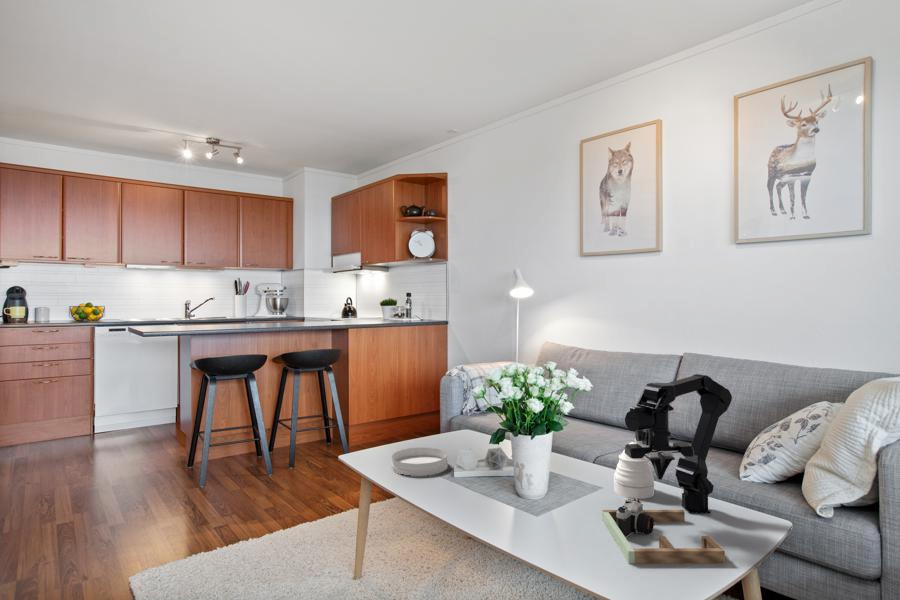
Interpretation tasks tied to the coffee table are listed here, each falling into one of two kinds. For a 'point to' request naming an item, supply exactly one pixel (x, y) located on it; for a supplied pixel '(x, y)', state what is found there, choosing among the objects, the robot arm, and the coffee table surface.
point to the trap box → (666, 550)
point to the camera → (634, 518)
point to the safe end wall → (619, 537)
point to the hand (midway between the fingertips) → (659, 479)
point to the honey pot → (633, 477)
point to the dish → (419, 461)
